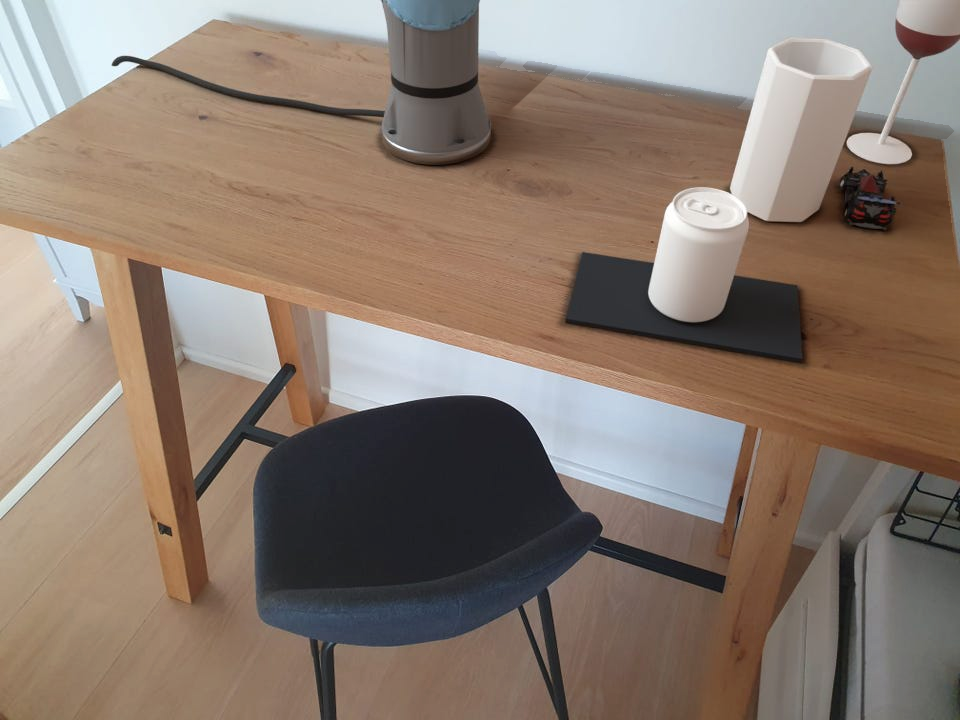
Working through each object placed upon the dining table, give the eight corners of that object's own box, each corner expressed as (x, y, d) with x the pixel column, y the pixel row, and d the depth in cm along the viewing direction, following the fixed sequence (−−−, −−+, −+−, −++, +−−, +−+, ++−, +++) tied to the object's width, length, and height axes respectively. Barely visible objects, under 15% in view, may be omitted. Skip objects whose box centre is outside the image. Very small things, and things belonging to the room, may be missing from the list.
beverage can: (707, 337, 79) (736, 241, 70) (635, 309, 82) (654, 214, 73) (733, 294, 83) (763, 200, 75) (664, 269, 86) (685, 176, 78)
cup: (824, 188, 100) (877, 47, 87) (812, 233, 93) (868, 86, 80) (738, 168, 103) (777, 29, 90) (720, 211, 96) (759, 66, 83)
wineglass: (842, 158, 105) (910, -19, 89) (846, 125, 112) (910, -45, 96) (913, 172, 103) (996, -7, 87) (914, 138, 110) (991, -35, 93)
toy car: (841, 226, 94) (852, 197, 91) (834, 175, 102) (844, 148, 99) (893, 233, 93) (907, 205, 90) (882, 182, 101) (894, 154, 98)
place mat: (565, 322, 81) (565, 318, 80) (581, 255, 89) (582, 251, 89) (801, 363, 77) (802, 358, 76) (795, 289, 85) (797, 285, 85)
